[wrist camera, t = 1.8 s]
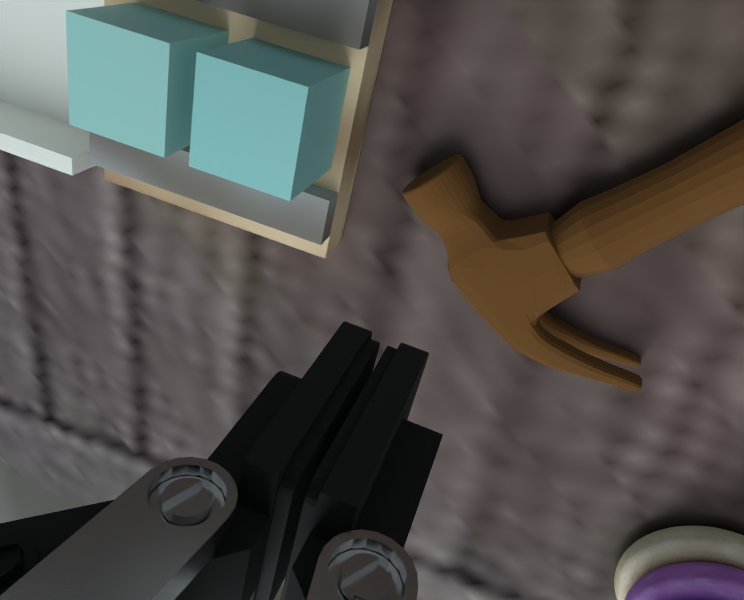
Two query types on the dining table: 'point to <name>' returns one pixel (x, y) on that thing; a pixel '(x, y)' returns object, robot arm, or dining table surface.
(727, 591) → the stacking toy
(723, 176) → the hammer
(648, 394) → the dining table surface
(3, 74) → the tray
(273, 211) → the slot board
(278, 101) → the teal cube block
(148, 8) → the light teal cube
